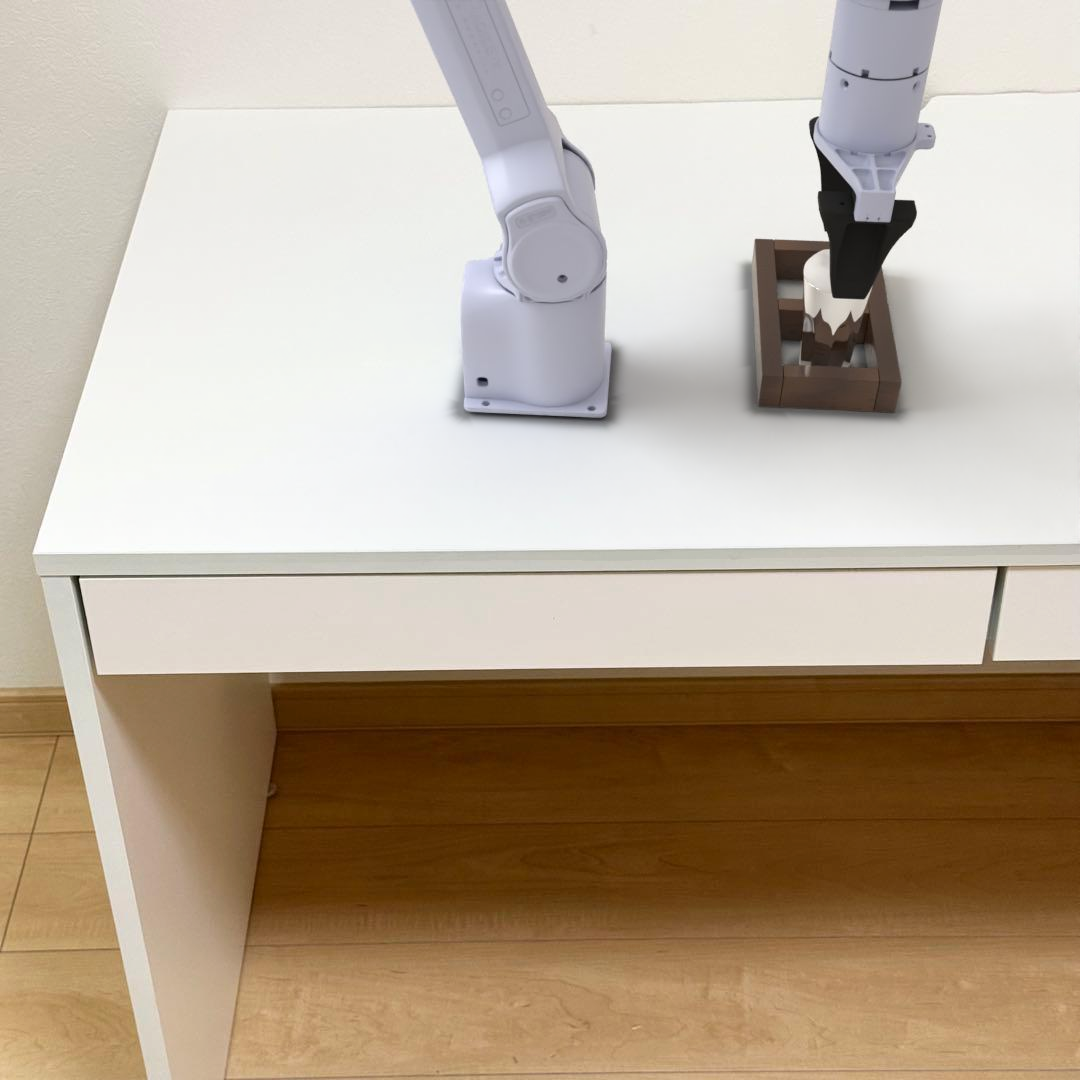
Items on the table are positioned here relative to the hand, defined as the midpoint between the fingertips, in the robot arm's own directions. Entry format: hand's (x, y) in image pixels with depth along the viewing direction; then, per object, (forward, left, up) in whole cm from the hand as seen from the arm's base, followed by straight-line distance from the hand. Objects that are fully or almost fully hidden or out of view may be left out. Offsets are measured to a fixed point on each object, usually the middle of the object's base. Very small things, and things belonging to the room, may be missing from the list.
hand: (843, 261), depth 87 cm
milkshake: (0, 0, -9) cm, 9 cm away
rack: (0, +4, -9) cm, 9 cm away
